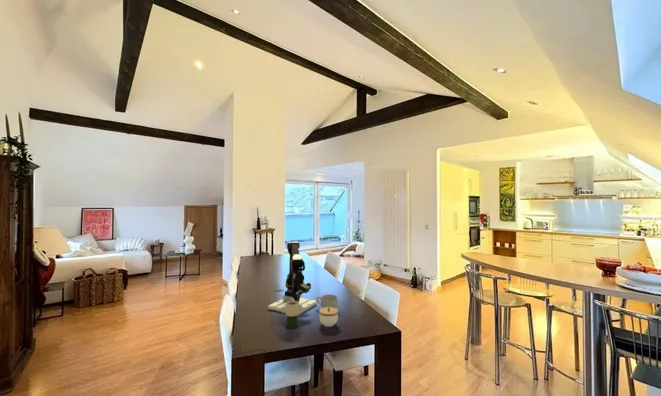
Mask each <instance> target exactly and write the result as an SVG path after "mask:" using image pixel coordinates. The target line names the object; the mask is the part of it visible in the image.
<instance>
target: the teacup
mask: <svg viewBox="0 0 661 396" xmlns="http://www.w3.org/2000/svg"><path fill="white" fill-rule="evenodd" d="M319 299H320V300H319ZM338 299H339V297H338V296H337V295H335V294H331V293H330V294H328V293H327V294H324V295H321V296H320V295H319V296H317V297H316V299H315V301H317V304H319V305H320V306H321V308H325V307H332V308H336V309H338V304H339V300H338Z"/></svg>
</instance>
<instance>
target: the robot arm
mask: <svg viewBox="0 0 661 396" xmlns="http://www.w3.org/2000/svg"><path fill="white" fill-rule="evenodd" d="M300 245H301V244H300V242H298V241H289V242H287V243H286V249H287V252H288V254H289V262H288V263H289V266H288V267H289V269H288V274H287V275H286V279H285V289H286V290H285V291H284V295H285V296H288V297H293V299H294V301H298V302H299V300H300V298H302V295H303V294H307V293H309V292H310V290H311V289H312V283H311V282H307V283H305V282H304V281H305V275H304V274H303V272H304V271H305V270H306V265H305V260H303V257H302V256H301V255H300V251H299V249H300V248H301V247H300Z"/></svg>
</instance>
